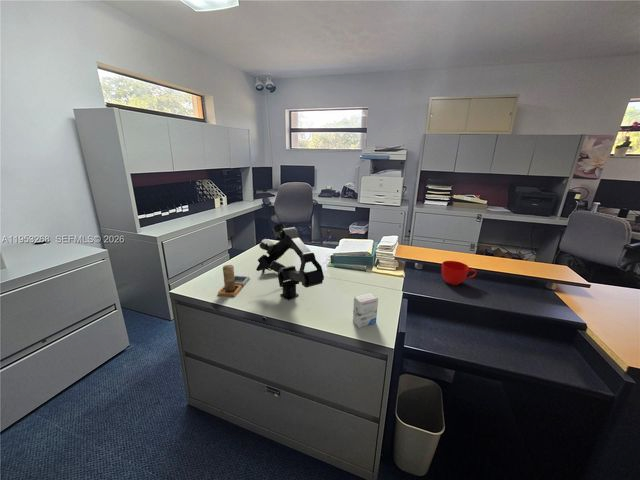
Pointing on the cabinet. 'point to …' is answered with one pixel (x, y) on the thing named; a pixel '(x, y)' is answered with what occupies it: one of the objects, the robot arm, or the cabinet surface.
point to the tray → (239, 284)
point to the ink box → (365, 309)
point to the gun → (275, 267)
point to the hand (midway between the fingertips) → (261, 266)
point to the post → (229, 278)
